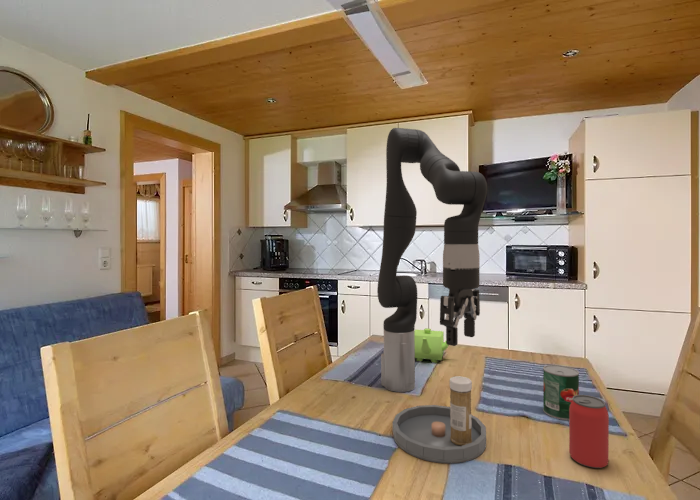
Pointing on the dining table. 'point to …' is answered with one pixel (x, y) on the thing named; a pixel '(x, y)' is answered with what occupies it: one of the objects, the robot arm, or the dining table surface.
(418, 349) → the kettle
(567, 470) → the dining table surface
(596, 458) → the beer can
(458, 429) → the sprinkles bottle
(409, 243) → the robot arm
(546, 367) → the canned tomato
